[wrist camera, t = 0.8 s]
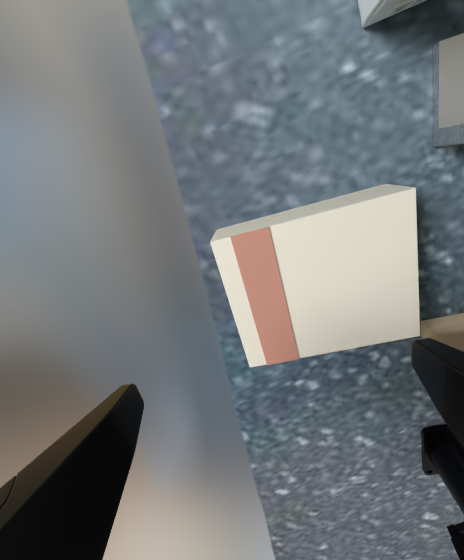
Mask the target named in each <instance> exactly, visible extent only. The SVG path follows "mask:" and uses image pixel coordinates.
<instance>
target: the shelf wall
mask: <svg viewBox="0 0 464 560" xmlns="http://www.w3.org/2000/svg"><path fill="white" fill-rule="evenodd" d="M425 337H428V338H432V339H434V340H437V341H439V342H441V343H444V344H446V345H449V346H451V347H454V348H456V349H459V350H461V351H464V313H460V314H455V315H449V316H444V317H439V318H434V319H429V320H423V321H421V338H425Z"/></svg>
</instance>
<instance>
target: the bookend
mask: <svg viewBox="0 0 464 560" xmlns="http://www.w3.org/2000/svg"><path fill="white" fill-rule="evenodd" d="M433 121H434V147H437V146H446V145H455V144H464V33H463V34H460V35H457V36H454V37H451V38H448V39H445V40H442V41H439V42H437V43H436V44H434V45H433Z"/></svg>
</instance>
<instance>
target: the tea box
mask: <svg viewBox="0 0 464 560" xmlns="http://www.w3.org/2000/svg"><path fill="white" fill-rule="evenodd" d="M424 1H427V0H358V4H359V10H360V15H361V25H362V27H363V28H365V27H367V26H369V25H371V24H374V23H376V22H378V21H381V20H383V19H385V18H387V17H390V16H392V15H394V14H397V13H399V12H401V11H403V10H406V9H408V8H410V7H413V6H415V5H417V4H420V3H422V2H424Z"/></svg>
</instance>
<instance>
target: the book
mask: <svg viewBox="0 0 464 560" xmlns="http://www.w3.org/2000/svg"><path fill="white" fill-rule="evenodd" d="M210 243H211V246H212V249H213V252H214V255H215V259H216V262H217V265H218V268H219V271H220V274H221V278H222V281H223V284H224V287H225V290H226V293H227V297H228V300H229V303H230V306H231V309H232V312H233V315H234V319H235V322H236V325H237V328H238V331H239V334H240V338H241V341H242V344H243V347H244V350H245V353H246V357H247V360H248V363H249V366H250V367H255V366H260V365H266V364H267V365H271V364H276V363H282V362H287V361H292V360H298V359H299V358H304V357H309V356H314V355H320V354H325V353H331V352H336V351H341V350H347V349H352V348H357V347H363V346H368V345H374V344H379V343H384V342H390V341H395V340H401V339H406V338H411V337H417V336H420V318H419V283H418V249H417V214H416V188H414V187H406V186H398V185H390V184H383V185H380V186H376V187H372V188H368V189H365V190H361V191H357V192H354V193H350V194H346V195H343V196H339V197H335V198H332V199H328V200H324V201H321V202H317V203H313V204H309V205H306V206H302V207H298V208H295V209H291V210H287V211H284V212H280V213H276V214H273V215H269V216H265V217H261V218H258V219H254V220H250V221H247V222H243V223H239V224H236V225H232V226H228V227H225V228H221V229H217V230H216V232H215V234H214V236H213V238H212V240H211V242H210Z"/></svg>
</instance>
